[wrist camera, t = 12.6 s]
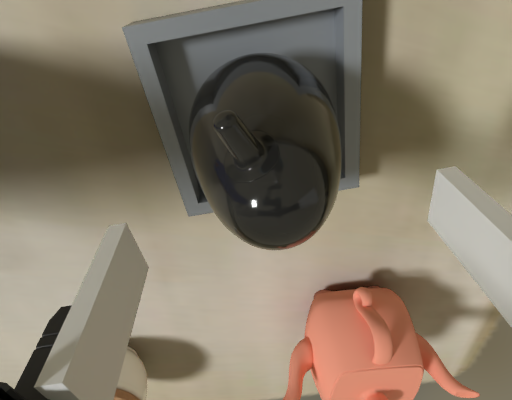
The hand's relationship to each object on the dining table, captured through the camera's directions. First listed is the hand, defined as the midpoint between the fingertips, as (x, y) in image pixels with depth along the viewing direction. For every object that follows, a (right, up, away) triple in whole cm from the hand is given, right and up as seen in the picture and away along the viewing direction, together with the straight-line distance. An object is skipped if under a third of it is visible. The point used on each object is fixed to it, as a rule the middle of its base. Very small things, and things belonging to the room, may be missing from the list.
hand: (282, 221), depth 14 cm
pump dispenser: (-1, +8, +13) cm, 15 cm away
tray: (-1, +9, +13) cm, 16 cm away
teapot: (+11, -13, +30) cm, 34 cm away
